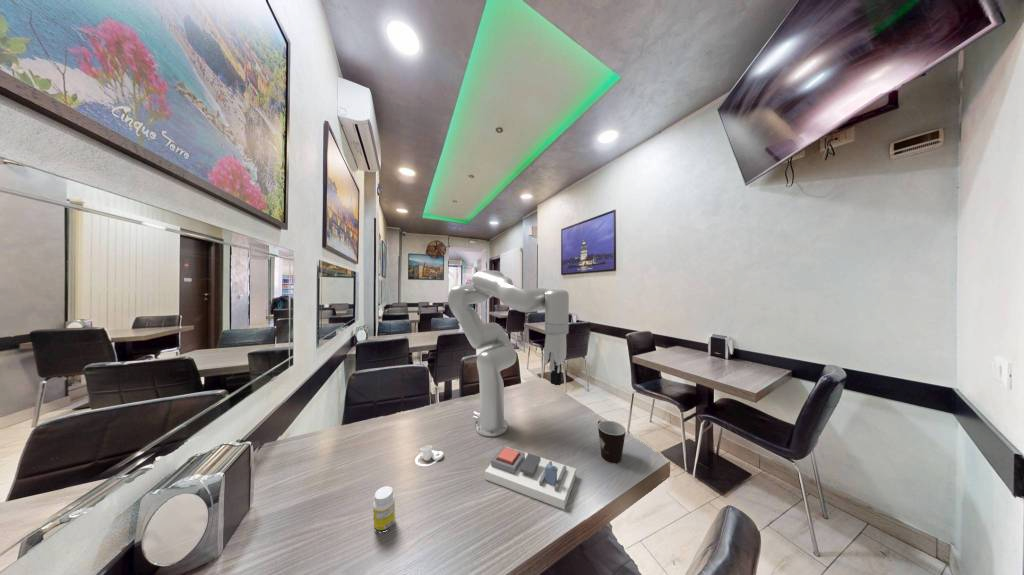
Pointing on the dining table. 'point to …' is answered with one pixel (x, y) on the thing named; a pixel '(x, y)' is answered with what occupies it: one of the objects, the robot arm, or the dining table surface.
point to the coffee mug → (611, 440)
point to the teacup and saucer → (428, 455)
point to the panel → (533, 479)
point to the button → (508, 456)
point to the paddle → (551, 474)
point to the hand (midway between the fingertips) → (556, 383)
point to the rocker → (530, 464)
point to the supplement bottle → (384, 509)
